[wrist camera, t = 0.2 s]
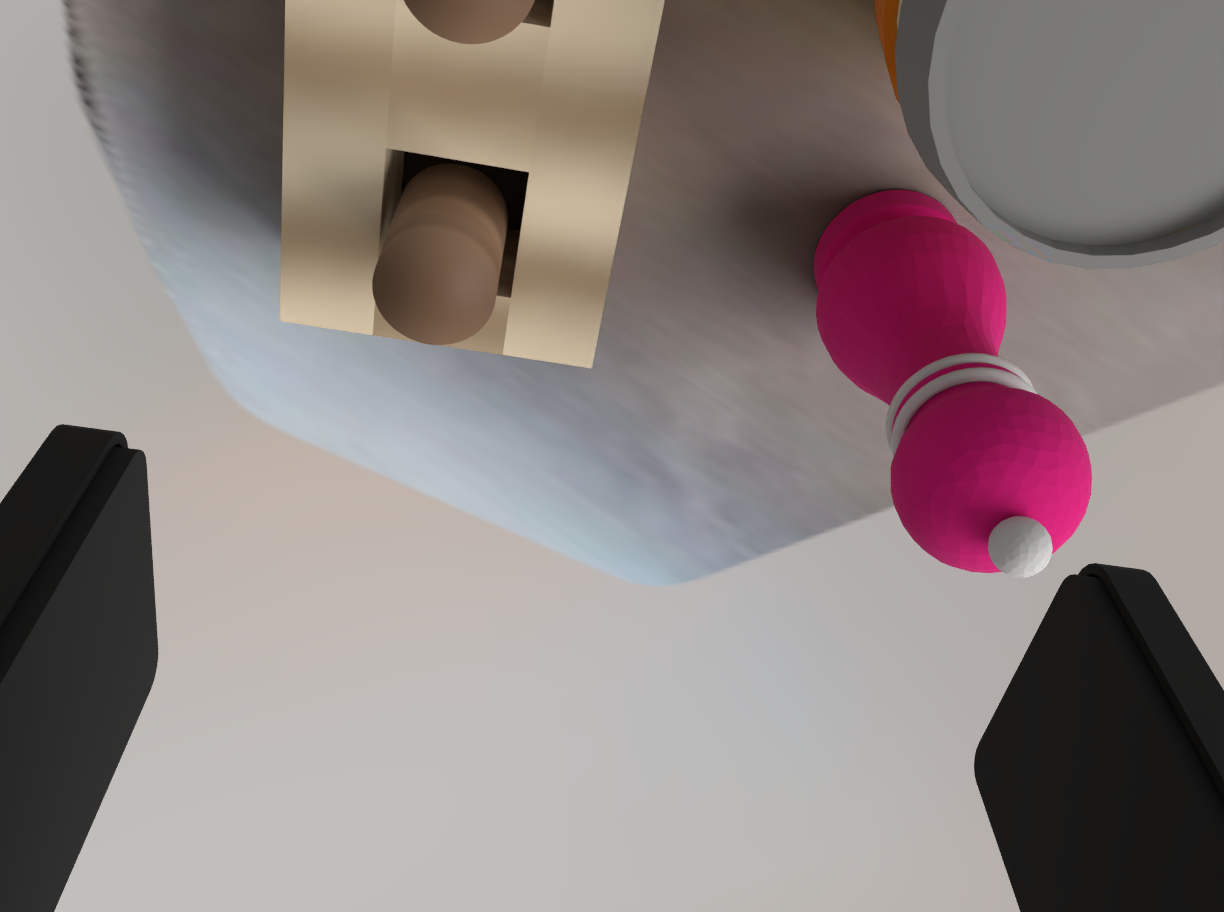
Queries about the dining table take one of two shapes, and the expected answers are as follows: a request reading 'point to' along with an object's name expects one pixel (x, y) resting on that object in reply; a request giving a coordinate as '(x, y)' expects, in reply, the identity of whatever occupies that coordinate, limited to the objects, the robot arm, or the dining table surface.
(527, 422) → the dining table surface
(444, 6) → the near walnut peg
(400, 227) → the far walnut peg
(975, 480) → the pepper mill
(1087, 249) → the reusable coffee cup
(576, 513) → the dining table surface
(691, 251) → the dining table surface
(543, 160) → the oak socket block
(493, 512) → the dining table surface
